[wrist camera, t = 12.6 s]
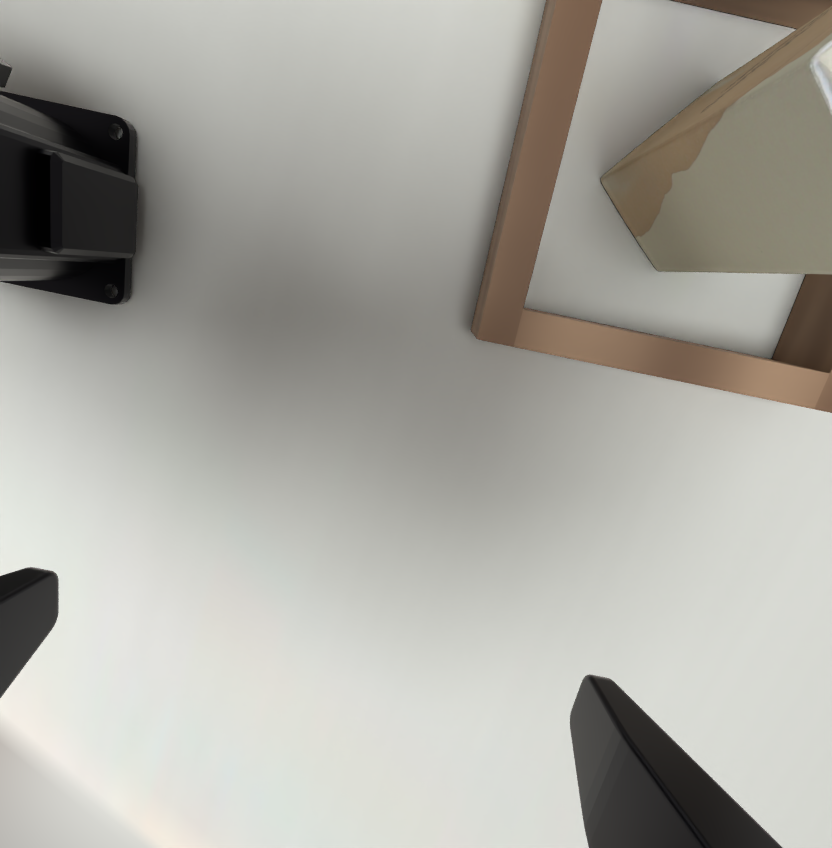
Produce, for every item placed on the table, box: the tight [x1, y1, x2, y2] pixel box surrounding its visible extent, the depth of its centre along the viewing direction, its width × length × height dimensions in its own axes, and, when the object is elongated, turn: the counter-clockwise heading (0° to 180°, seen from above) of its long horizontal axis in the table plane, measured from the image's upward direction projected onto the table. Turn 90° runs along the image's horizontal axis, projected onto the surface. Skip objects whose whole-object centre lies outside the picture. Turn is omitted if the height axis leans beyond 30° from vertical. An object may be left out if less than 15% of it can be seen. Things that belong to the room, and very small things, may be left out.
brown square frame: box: [471, 0, 832, 413], centre depth 17 cm, size 13×13×3 cm
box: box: [601, 6, 832, 274], centre depth 13 cm, size 5×4×11 cm
